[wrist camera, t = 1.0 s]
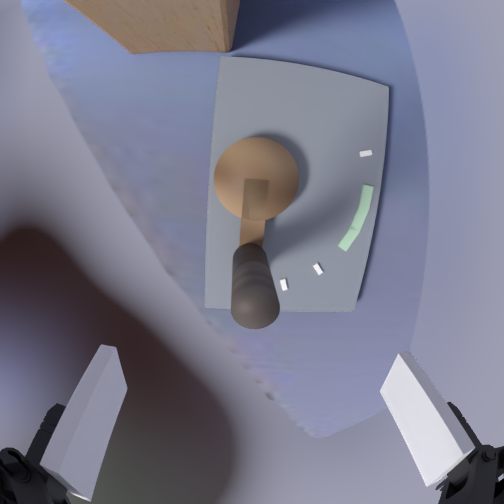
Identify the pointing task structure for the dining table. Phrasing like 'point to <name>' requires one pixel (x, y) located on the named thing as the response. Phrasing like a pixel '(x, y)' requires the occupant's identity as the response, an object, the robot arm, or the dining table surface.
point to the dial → (255, 220)
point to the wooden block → (164, 23)
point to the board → (302, 178)
